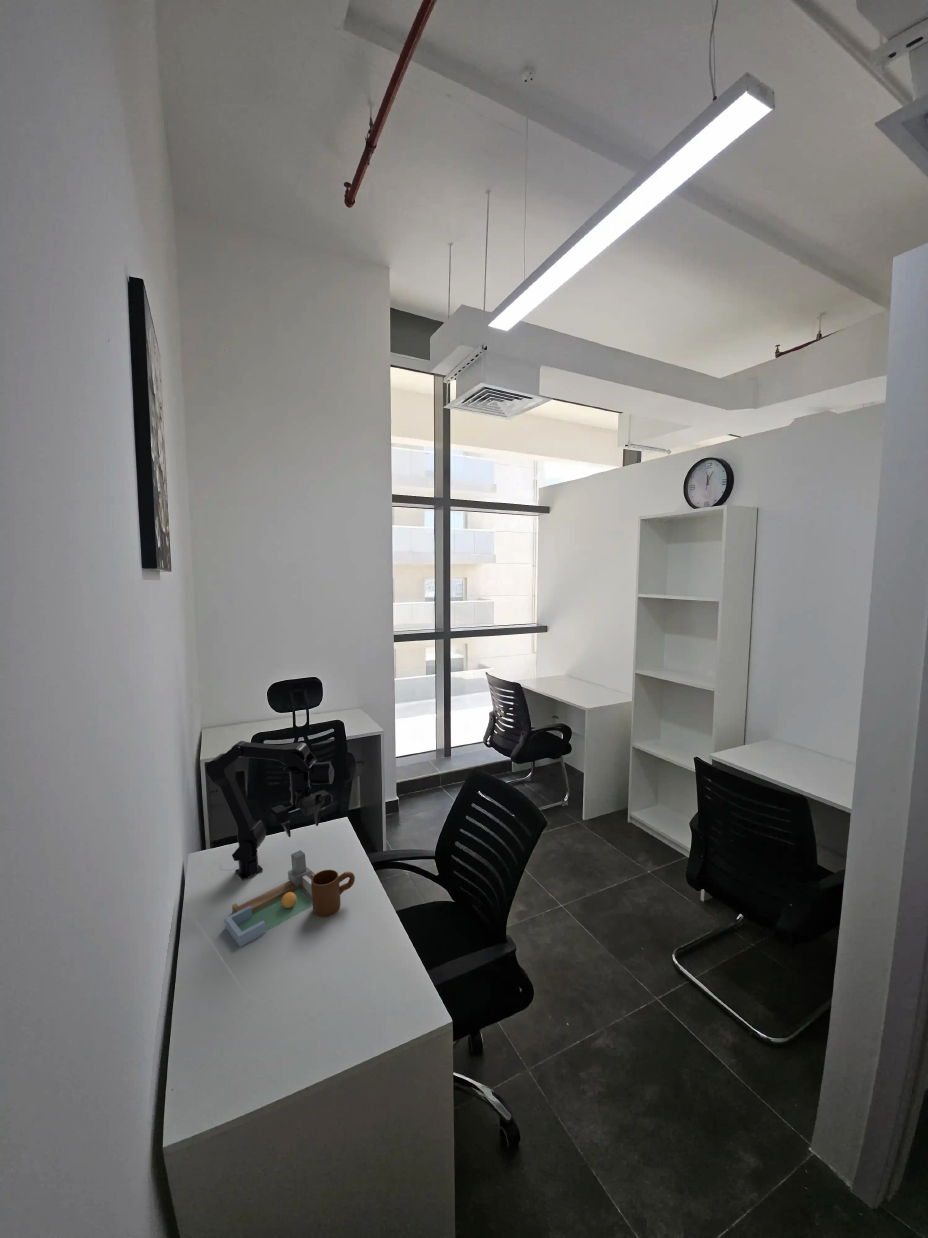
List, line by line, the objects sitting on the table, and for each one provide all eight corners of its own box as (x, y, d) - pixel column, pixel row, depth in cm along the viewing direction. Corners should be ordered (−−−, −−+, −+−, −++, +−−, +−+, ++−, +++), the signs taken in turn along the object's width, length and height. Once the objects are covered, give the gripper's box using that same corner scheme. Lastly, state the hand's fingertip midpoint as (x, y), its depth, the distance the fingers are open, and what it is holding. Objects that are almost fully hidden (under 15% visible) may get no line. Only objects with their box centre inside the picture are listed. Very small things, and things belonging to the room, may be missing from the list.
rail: (232, 913, 136) (231, 905, 136) (308, 875, 153) (307, 867, 152) (239, 921, 133) (238, 913, 133) (316, 881, 149) (315, 874, 149)
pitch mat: (225, 927, 131) (225, 926, 131) (298, 889, 146) (298, 889, 146) (239, 946, 124) (239, 945, 124) (315, 904, 139) (315, 904, 139)
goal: (225, 928, 130) (224, 918, 130) (250, 915, 135) (249, 905, 135) (240, 947, 123) (239, 936, 123) (265, 933, 128) (264, 922, 128)
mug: (354, 892, 143) (352, 862, 142) (358, 908, 136) (356, 877, 135) (311, 904, 139) (309, 873, 138) (314, 921, 132) (312, 889, 131)
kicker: (288, 882, 148) (286, 854, 147) (303, 874, 151) (301, 847, 151) (308, 900, 139) (306, 871, 138) (323, 891, 143) (322, 863, 142)
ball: (279, 907, 138) (278, 894, 137) (292, 900, 141) (291, 887, 140) (285, 913, 135) (284, 900, 135) (299, 906, 138) (298, 893, 137)
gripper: (281, 802, 141) (285, 853, 142) (339, 782, 153) (342, 829, 155) (266, 790, 149) (270, 839, 150) (322, 772, 162) (325, 817, 163)
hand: (303, 831), depth 154 cm, fingers open, 9 cm apart
